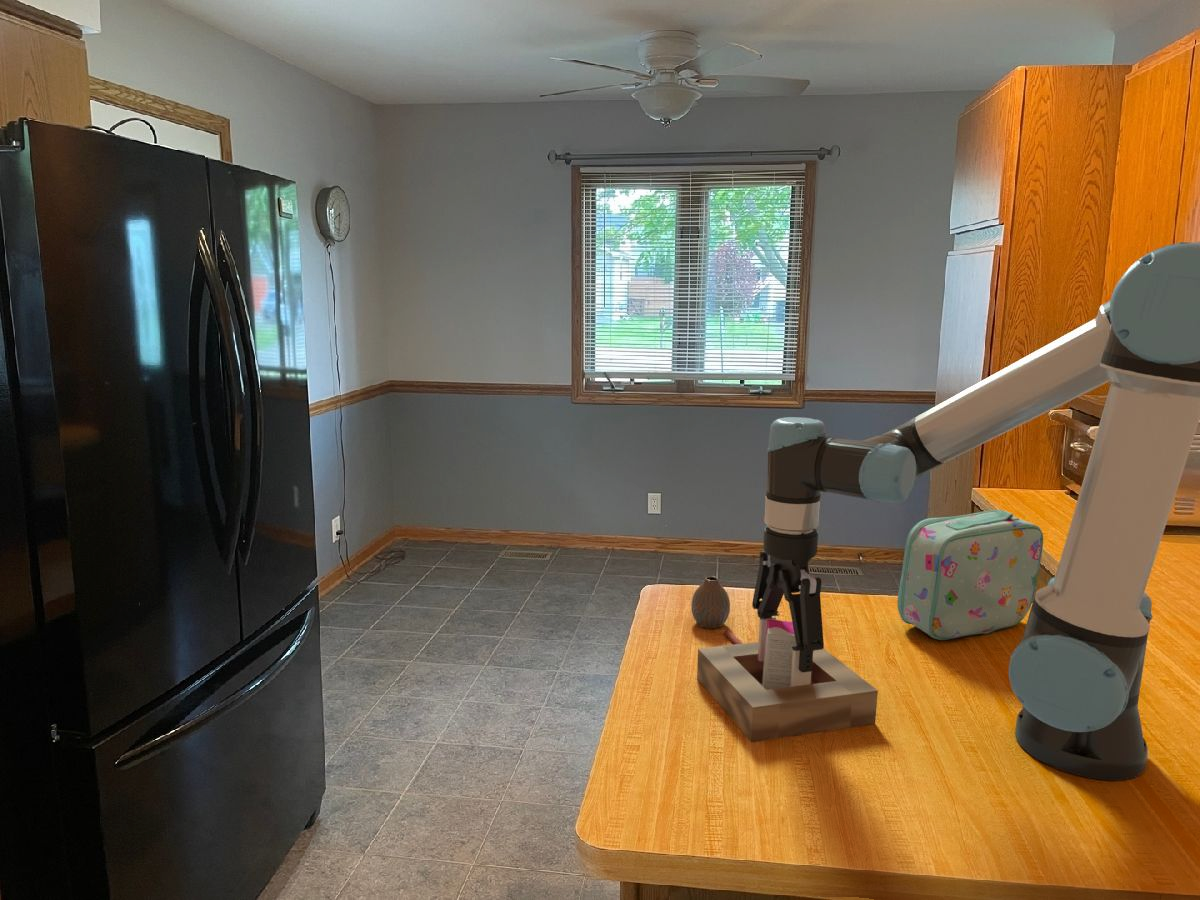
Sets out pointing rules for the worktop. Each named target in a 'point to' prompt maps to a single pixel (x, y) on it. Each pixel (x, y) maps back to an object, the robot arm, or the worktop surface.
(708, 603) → the vase
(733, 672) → the brown wooden square frame
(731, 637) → the reddish-brown thin rod
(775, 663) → the supplement box
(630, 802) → the worktop surface
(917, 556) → the lunch box
